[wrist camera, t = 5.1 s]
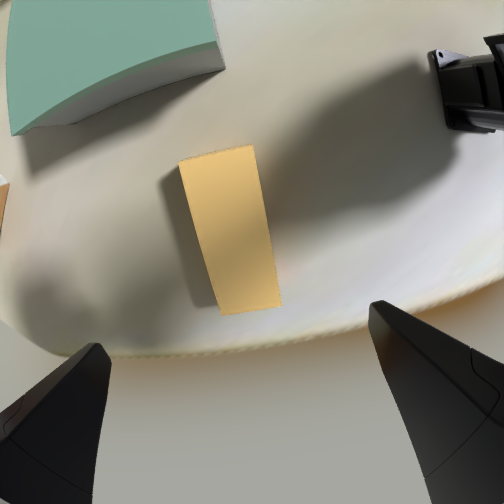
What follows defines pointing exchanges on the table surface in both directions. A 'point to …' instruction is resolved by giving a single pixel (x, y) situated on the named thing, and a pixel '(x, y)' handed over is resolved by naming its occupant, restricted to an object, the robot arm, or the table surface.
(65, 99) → the lid
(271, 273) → the light orange rectangular block
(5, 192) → the small box
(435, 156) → the table surface
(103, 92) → the crate
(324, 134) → the table surface
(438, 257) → the table surface
